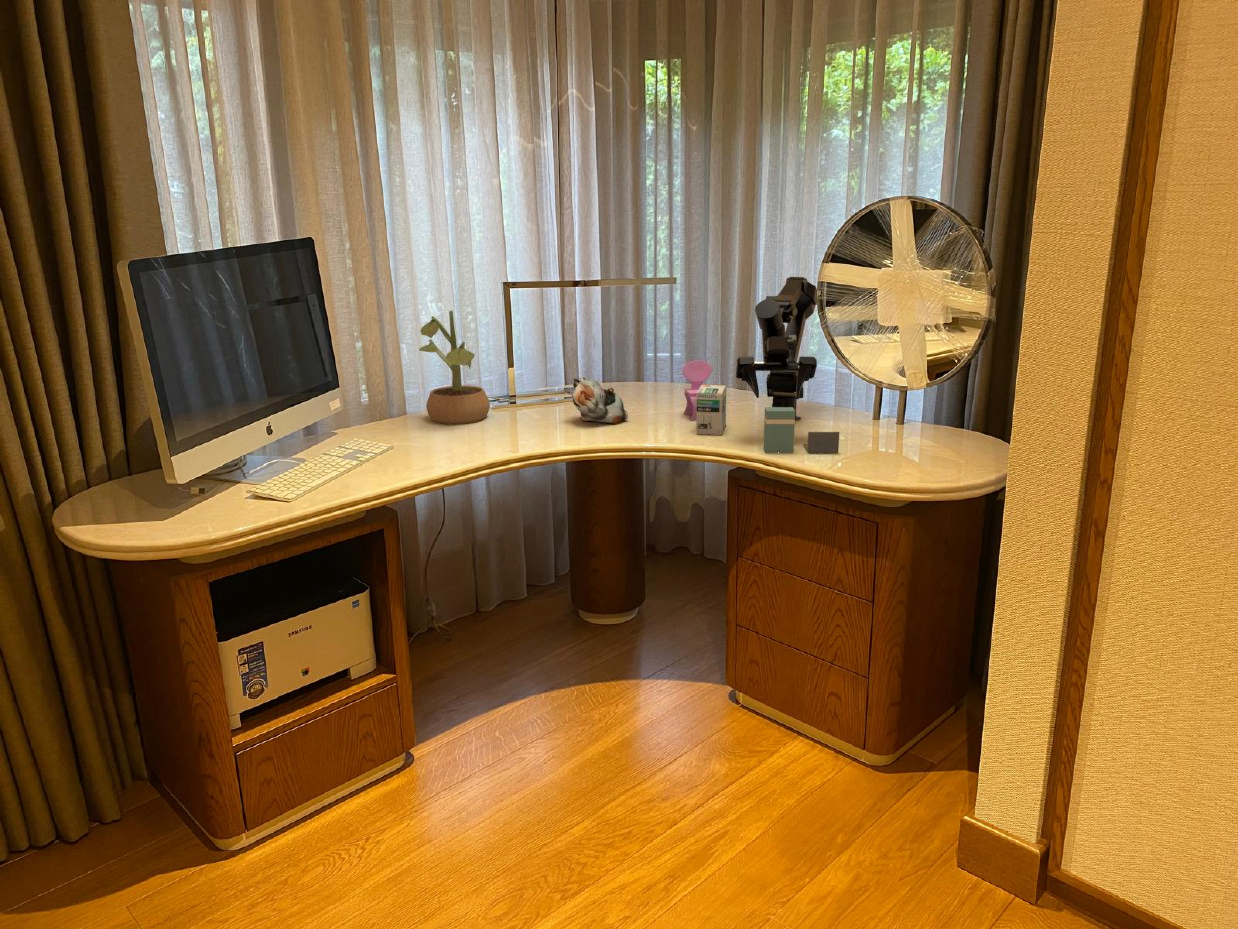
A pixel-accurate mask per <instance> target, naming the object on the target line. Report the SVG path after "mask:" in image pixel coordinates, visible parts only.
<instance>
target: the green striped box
mask: <svg viewBox="0 0 1238 929" xmlns="http://www.w3.org/2000/svg"><path fill="white" fill-rule="evenodd" d="M763 420H764V422H763V423H764V426H763V448H762V449H763V451H764V454H794V447H795V446H794V445H795V444H794V443H795V426H796V425H795V424H796V420H795V410H794V408H793V407H772V406H768V407H767V406H766V407H764V418H763ZM778 452H779V453H778Z"/></svg>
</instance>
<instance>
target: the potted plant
mask: <svg viewBox="0 0 1238 929" xmlns="http://www.w3.org/2000/svg"><path fill="white" fill-rule="evenodd" d="M448 313H449V314H448V315H449V331H450V333H449V332H448V331H447V329H446V328H445V327H444V325H443V323H441V322H440V320H439V319H438V318H436V317H435V316H431V320H430V321H429V322H427V323H426V324H424V325H423V326H422V327H421V329H420V330H419V331H420V334H421V335H422V336H426V337H428V338H430V339H429V340H428V342H429V343H428V344H425V345H423V346H422V347H420V348H419V349H418V351H419V352H427V353H436V354H437V356H439V357H440V359H441V360H442V361H444V363H446V365H447V366H448V367H449V369H450V370H451V375H452V377H451V378H452V381H451V385H449V386H448V385H447V386H442V387H441V386H440V387H437V388H434V389H432V390H431V391H430V392H429V396H428V398H427V401H426V406H425V407H426V412H427V414H428V416H429V418H430V419H431V420H432V421H434V422H435V423H437V424H442V425H443V424H444V425H465V424H472V423H476V422H480V421H482V420H484V418H486V417H487V416H488V414H489V412H490V406H491V404H490V400H489V397H488V395H487V394H486V391H485V390H484V388H483V387H480V386H476V385H466V384H465V385H464V384H463V385H462V374H461V366H467V367H468V368H469V370H471V366H472V360H473V359H475V355H476V354H475V353H473V352H472V351H469V350H468V349H467V348H465V346H466V342H465V340H463V342H461V344H460V345H459V347H458V346H457V336H456V330H455V321H454V311H453V310H451V309H450V310H448ZM439 330H440V332H441V333H442V335H443V336H444V338H445V339H446V341H448V343H449V344H450V351H449V352H448V353H447V354H446V355H445V354H444V353H443V352H442V350H441V349H440V348H439V347H438V346H437V345H436V343H435V342H434V340H432V338H433V337H434V336H435V335H436V334H437V333H438V331H439Z"/></svg>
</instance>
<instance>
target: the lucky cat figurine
mask: <svg viewBox="0 0 1238 929" xmlns="http://www.w3.org/2000/svg"><path fill="white" fill-rule="evenodd" d="M572 385H573V393H572V403H573V405H574V407H575V408H576V409H577V410H578V411H579V412H580V418H581V421H582V422H590V421H591V422H598V423H599V422H600V423H601V422H602V423H608V424H612V425H618V424H622V423H623V422H624V421H625V420H628V418H629V414H628V411H627V410H626V409H625V405H624V402H623V399H622V398H621V397H620V396H619V394H617V393H616V392H615V389H614V388H613V387H612V386H609V387H608V388H607V389H606V388H605V389H604V388H603V386H602V385H601V383H600V382H599V381H597V380H595V379H586V378H585V377H584V376H581V377H579V378H578V379H577V378H573V384H572Z"/></svg>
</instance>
